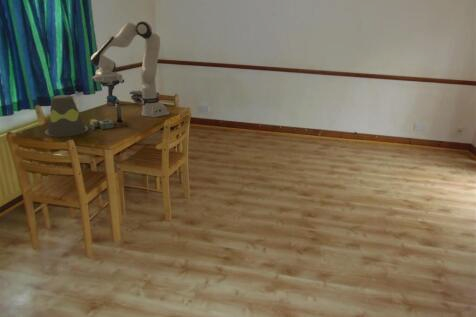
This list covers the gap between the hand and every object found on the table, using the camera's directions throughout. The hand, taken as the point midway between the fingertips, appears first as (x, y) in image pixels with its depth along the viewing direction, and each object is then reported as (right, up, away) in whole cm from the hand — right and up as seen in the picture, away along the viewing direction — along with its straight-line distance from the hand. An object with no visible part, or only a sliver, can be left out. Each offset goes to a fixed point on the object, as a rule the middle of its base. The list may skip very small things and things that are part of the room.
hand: (111, 79), depth 269 cm
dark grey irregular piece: (+8, -8, +69) cm, 70 cm away
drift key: (-11, -35, -2) cm, 36 cm away
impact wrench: (-19, -10, +63) cm, 67 cm away
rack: (+6, -34, +2) cm, 34 cm away
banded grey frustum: (-26, -39, -14) cm, 49 cm away
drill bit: (+6, -34, +2) cm, 34 cm away
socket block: (-5, -36, -5) cm, 36 cm away
